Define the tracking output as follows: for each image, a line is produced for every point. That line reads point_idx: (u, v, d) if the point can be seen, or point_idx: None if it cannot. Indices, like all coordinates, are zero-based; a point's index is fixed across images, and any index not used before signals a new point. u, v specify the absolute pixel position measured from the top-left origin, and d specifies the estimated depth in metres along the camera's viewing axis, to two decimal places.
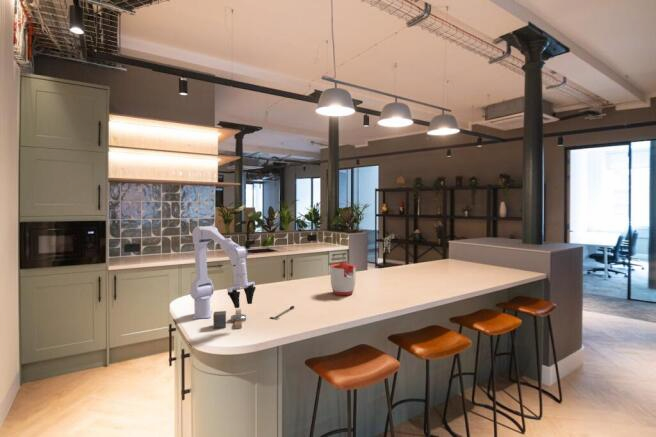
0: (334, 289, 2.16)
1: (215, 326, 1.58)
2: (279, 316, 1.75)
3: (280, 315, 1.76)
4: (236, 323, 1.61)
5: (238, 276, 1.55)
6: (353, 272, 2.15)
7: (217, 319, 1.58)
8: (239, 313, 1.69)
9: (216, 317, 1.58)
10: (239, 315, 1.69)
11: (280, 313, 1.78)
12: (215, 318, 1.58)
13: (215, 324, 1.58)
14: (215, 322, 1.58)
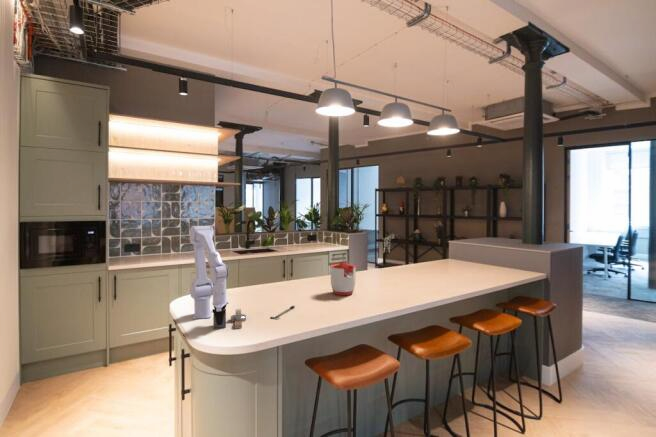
0: (334, 289, 2.16)
1: (215, 326, 1.58)
2: (279, 316, 1.76)
3: (280, 315, 1.77)
4: (236, 323, 1.61)
5: (222, 294, 1.59)
6: (353, 272, 2.15)
7: None
8: (239, 313, 1.69)
9: None
10: (239, 315, 1.69)
11: (280, 313, 1.79)
12: None
13: (215, 324, 1.58)
14: (215, 322, 1.58)
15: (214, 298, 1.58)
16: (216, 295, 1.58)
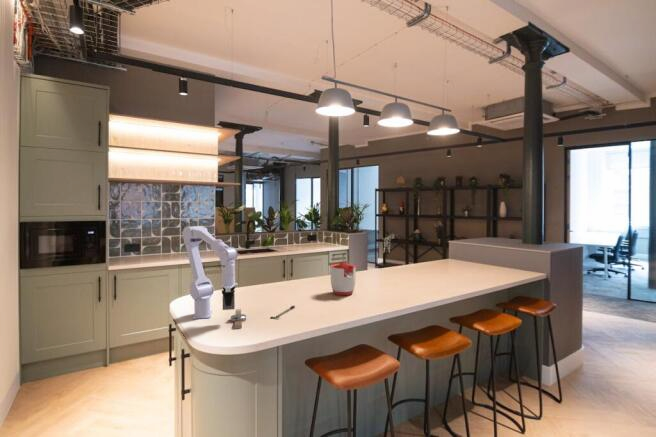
0: (334, 289, 2.16)
1: (224, 307, 1.62)
2: (279, 316, 1.76)
3: (280, 315, 1.77)
4: (236, 323, 1.61)
5: (231, 276, 1.62)
6: (353, 272, 2.15)
7: None
8: (239, 313, 1.69)
9: None
10: (239, 315, 1.69)
11: (280, 313, 1.79)
12: (224, 299, 1.62)
13: (224, 305, 1.62)
14: (224, 303, 1.62)
15: (223, 279, 1.62)
16: (225, 277, 1.62)
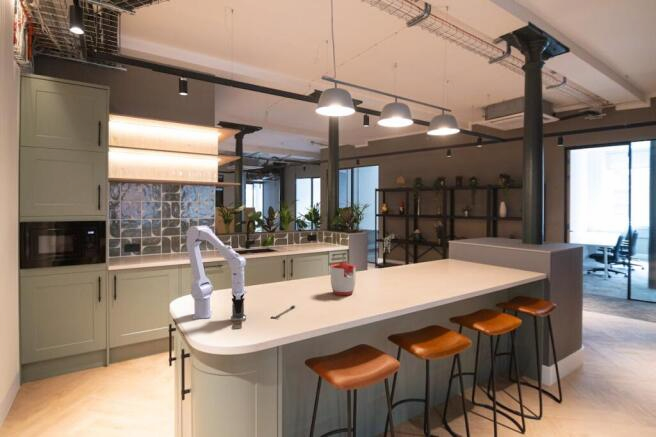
0: (334, 289, 2.16)
1: (234, 316, 1.67)
2: None
3: None
4: (236, 323, 1.61)
5: (241, 284, 1.67)
6: (353, 272, 2.15)
7: None
8: None
9: None
10: None
11: (281, 313, 1.79)
12: (234, 308, 1.67)
13: (234, 314, 1.67)
14: (234, 312, 1.67)
15: (233, 287, 1.67)
16: (235, 284, 1.67)
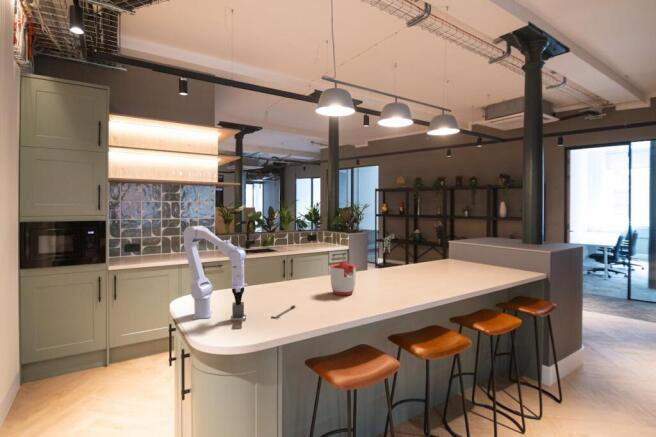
0: (334, 289, 2.16)
1: (234, 316, 1.67)
2: (280, 315, 1.76)
3: (281, 314, 1.77)
4: (236, 323, 1.61)
5: (241, 277, 1.67)
6: (353, 272, 2.15)
7: (235, 310, 1.67)
8: None
9: (235, 307, 1.67)
10: None
11: None
12: (234, 308, 1.67)
13: (234, 314, 1.67)
14: (234, 312, 1.67)
15: (233, 280, 1.67)
16: (235, 277, 1.66)
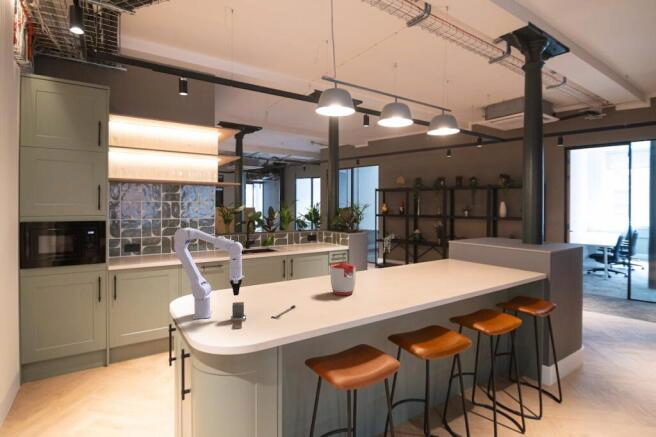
0: (334, 289, 2.16)
1: (234, 316, 1.67)
2: (280, 315, 1.77)
3: (281, 314, 1.77)
4: (236, 323, 1.61)
5: (238, 269, 1.73)
6: (353, 272, 2.15)
7: (235, 310, 1.67)
8: None
9: (235, 307, 1.67)
10: None
11: None
12: (234, 308, 1.67)
13: (234, 314, 1.67)
14: (234, 312, 1.67)
15: (231, 272, 1.72)
16: (233, 269, 1.72)
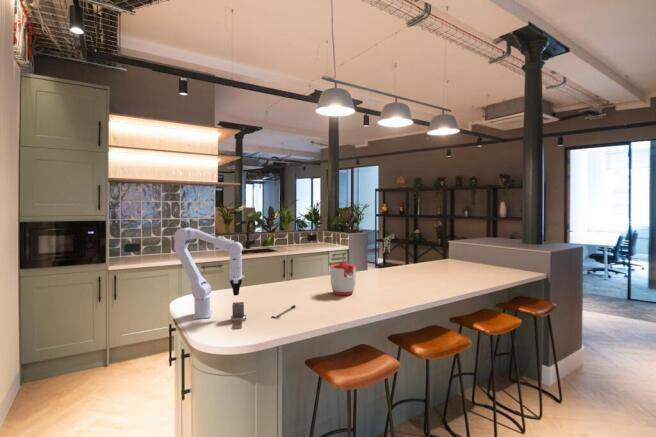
0: (334, 289, 2.16)
1: (234, 316, 1.67)
2: (280, 315, 1.77)
3: (281, 314, 1.78)
4: (236, 323, 1.61)
5: (238, 269, 1.73)
6: (353, 272, 2.15)
7: (235, 310, 1.67)
8: None
9: (235, 307, 1.67)
10: None
11: None
12: (234, 308, 1.67)
13: (234, 314, 1.67)
14: (234, 312, 1.67)
15: (231, 272, 1.72)
16: (233, 269, 1.72)
